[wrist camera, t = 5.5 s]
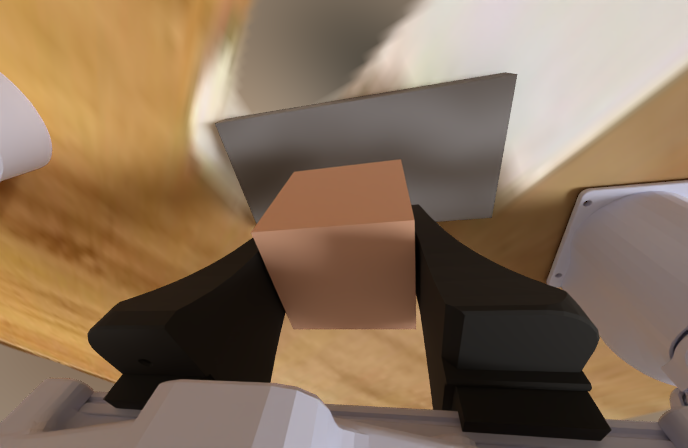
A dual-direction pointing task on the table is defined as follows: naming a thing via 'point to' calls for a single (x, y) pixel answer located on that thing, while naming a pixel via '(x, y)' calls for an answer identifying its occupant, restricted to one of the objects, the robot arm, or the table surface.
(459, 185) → the charcoal board
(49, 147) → the wedge on round base
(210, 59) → the table surface
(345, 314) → the cube
